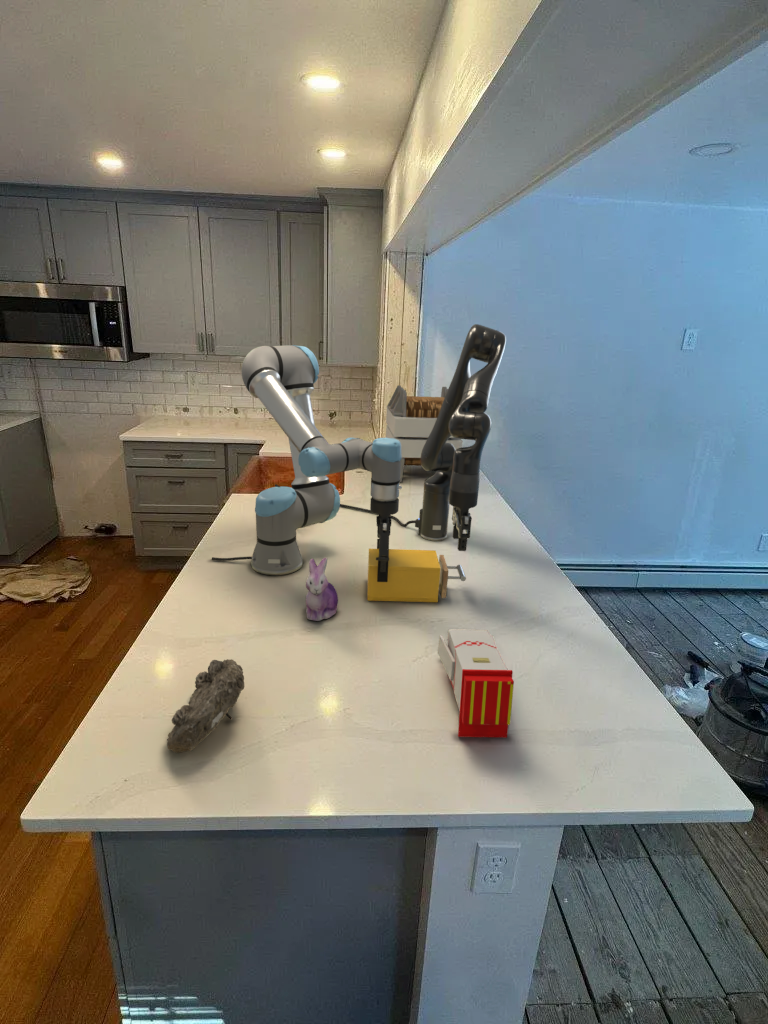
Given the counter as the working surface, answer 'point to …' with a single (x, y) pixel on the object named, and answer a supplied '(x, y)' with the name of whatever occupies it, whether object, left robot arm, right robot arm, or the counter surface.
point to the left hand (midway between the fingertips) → (381, 570)
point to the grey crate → (413, 424)
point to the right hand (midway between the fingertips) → (459, 544)
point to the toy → (478, 682)
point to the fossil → (206, 705)
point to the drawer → (445, 577)
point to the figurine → (320, 593)
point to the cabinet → (405, 576)
